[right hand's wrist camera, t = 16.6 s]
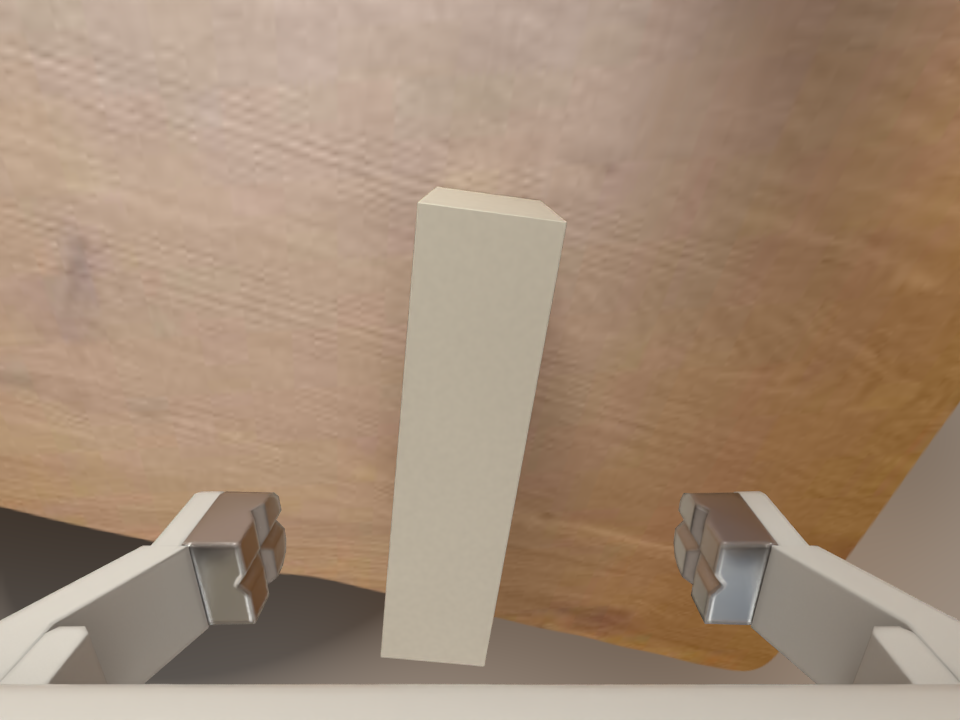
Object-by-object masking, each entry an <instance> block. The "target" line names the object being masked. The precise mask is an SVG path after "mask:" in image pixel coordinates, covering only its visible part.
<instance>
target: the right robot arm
mask: <svg viewBox="0 0 960 720" xmlns="http://www.w3.org/2000/svg"><path fill="white" fill-rule="evenodd" d="M280 512H281V506H280V501H279V496H278V495H276V494H275V493H271V492H222V491H202V492H199V493H196V494H194V495H193V497H192V498H191V499H190V500H189V501H188V502H187V504H186V505H185V506H184V507H183V508H182V510H181V511H180V512H179V513H178V514H177V515H176V517H175V518H174V519H173V520H172V521H171V523H170V524H169V525H168V526H167V527H166V528H165V530H164V531H163V532H162V533H161V534H160V536H159V537H158V538H157V539H156V540H155V542H154V543H153V544H152V545H151V546H142V547H140V548H138V549H136V550H134V551H132V552H130V553H128V554H126V555H124V556H122V557H121V558H119V559H117V560H115V561H113V562H111V563H109V564H107V565H105V566H103V567H101V568H100V569H98V570H96V571H94V572H92V573H90V574H88V575H86V576H84V577H82V578H81V579H79V580H77V581H75V582H73V583H71V584H69V585H67V586H65V587H63V588H61V589H60V590H58V591H56V592H54V593H52V594H50V595H48V596H46V597H44V598H42V599H41V600H39V601H37V602H35V603H33V604H31V605H29V606H27V607H25V608H23V609H21V610H20V611H18V612H16V613H14V614H12V615H10V616H8V617H6V618H4V619H2V620H1V621H0V720H960V621H959V620H957V619H955V618H953V617H951V616H950V615H948V614H946V613H944V612H942V611H940V610H938V609H936V608H934V607H932V606H931V605H929V604H927V603H925V602H923V601H921V600H919V599H917V598H915V597H913V596H912V595H910V594H908V593H906V592H904V591H902V590H900V589H898V588H896V587H894V586H893V585H891V584H889V583H887V582H885V581H883V580H881V579H879V578H877V577H876V576H874V575H872V574H870V573H868V572H866V571H864V570H862V569H860V568H858V567H857V566H855V565H853V564H851V563H849V562H847V561H845V560H843V559H841V558H839V557H838V556H836V555H834V554H832V553H830V552H828V551H826V550H824V549H822V548H820V547H819V546H809V545H808V544H807V543H806V542H805V540H804V539H803V538H802V537H801V536H800V534H799V533H798V532H797V531H796V530H795V529H794V527H793V526H792V525H791V524H790V523H789V521H788V520H787V519H786V518H785V517H784V516H783V514H782V513H781V512H780V511H779V510H778V508H777V507H776V506H775V505H774V504H773V503H772V501H771V500H770V499H769V498H768V497H767V495H766V494H764V493H762V492H760V491H747V492H734V493H684V494H683V496H682V498H681V500H680V505H679V512H680V514H681V516H682V517H683V519H684V520H683V521H682V522H681V523H680V524H679V525H678V526H677V527H676V528H675V535H674V553H675V559H676V562H677V566H678V569H679V571H680V573H681V575H682V577H683V578H684V579H686V580H687V581H689V582H690V583H691V584H693V586H692V592H691V596H692V598H693V600H694V602H695V604H696V606H697V609H698V611H699V613H700V615H701V617H702V619H703V621H704V623H705V624H736V625H751V628H753V629H754V630H755V631H756V632H757V633H758V634H760V635H761V636H762V637H763V638H764V639H765V640H766V641H768V642H769V643H770V644H771V645H772V646H773V647H775V648H776V649H777V650H778V651H779V652H780V653H782V654H783V655H784V656H785V657H786V658H787V659H788V660H790V661H791V662H792V663H793V664H794V665H795V666H797V667H798V668H799V669H800V670H801V671H802V672H803V673H805V674H806V675H807V676H808V677H809V678H810V679H812V680H813V681H814V682H815V683H816V684H144V683H145V682H146V681H147V680H149V679H150V678H151V677H152V676H153V675H154V674H156V673H157V672H158V671H159V670H160V669H161V668H162V667H164V666H165V665H166V664H167V663H168V662H169V661H171V660H172V659H173V658H174V657H175V656H176V655H178V654H179V653H180V652H181V651H182V650H183V649H184V648H186V647H187V646H188V645H189V644H190V643H191V642H193V641H194V640H195V639H196V638H197V637H198V636H199V635H201V634H202V633H203V632H204V631H205V630H206V629H208V628H209V625H223V624H255V623H256V621H257V619H258V617H259V615H260V613H261V611H262V609H263V606H264V604H265V602H266V600H267V598H268V596H269V592H268V587H267V584H269V583H270V582H271V581H273V580H274V579H276V578H277V577H278V575H279V573H280V571H281V568H282V566H283V563H284V558H285V553H286V534H285V528H284V527H283V526H282V525H281V524H280V523H279V522H278V521H277V520H276V519H277V517H278V516H279V514H280Z"/></svg>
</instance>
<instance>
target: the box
mask: <svg viewBox="0 0 960 720" xmlns="http://www.w3.org/2000/svg"><path fill="white" fill-rule="evenodd" d="M566 226H567V222H566V221H565V220H564V219H562V218H561V217H560V216H559V215H557V214H556V213H555V212H554V211H553V210H551V209H550V208H549V207H548V206H546V205H545V204H544V203H543V202H542V201H539V200H532V199H524V198H517V197H509V196H502V195H495V194H487V193H480V192H472V191H465V190H458V189H450V188H443V187H436V188H435V189H433V190H432V191H431V192H430V193H429V194H427V195H426V196H425V197H424V198H423V199H421V200H420V201H419V202H418V203H417V215H416V227H415V240H414V252H413V264H412V276H411V289H410V301H409V313H408V326H407V338H406V350H405V362H404V375H403V387H402V399H401V411H400V424H399V436H398V448H397V460H396V473H395V485H394V497H393V509H392V522H391V534H390V546H389V559H388V571H387V583H386V596H385V608H384V620H383V632H382V644H381V657H386V658H397V659H407V660H419V661H429V662H440V663H451V664H462V665H473V666H485V661H486V656H487V650H488V645H489V639H490V634H491V629H492V623H493V618H494V613H495V607H496V602H497V596H498V591H499V586H500V580H501V575H502V570H503V564H504V559H505V553H506V548H507V543H508V537H509V532H510V527H511V521H512V516H513V510H514V505H515V500H516V494H517V489H518V484H519V478H520V473H521V467H522V462H523V457H524V451H525V446H526V441H527V435H528V430H529V424H530V419H531V414H532V408H533V403H534V398H535V392H536V387H537V381H538V376H539V371H540V365H541V360H542V355H543V349H544V344H545V338H546V333H547V328H548V322H549V317H550V312H551V306H552V301H553V295H554V290H555V285H556V279H557V274H558V269H559V263H560V258H561V252H562V247H563V242H564V236H565V231H566Z"/></svg>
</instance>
